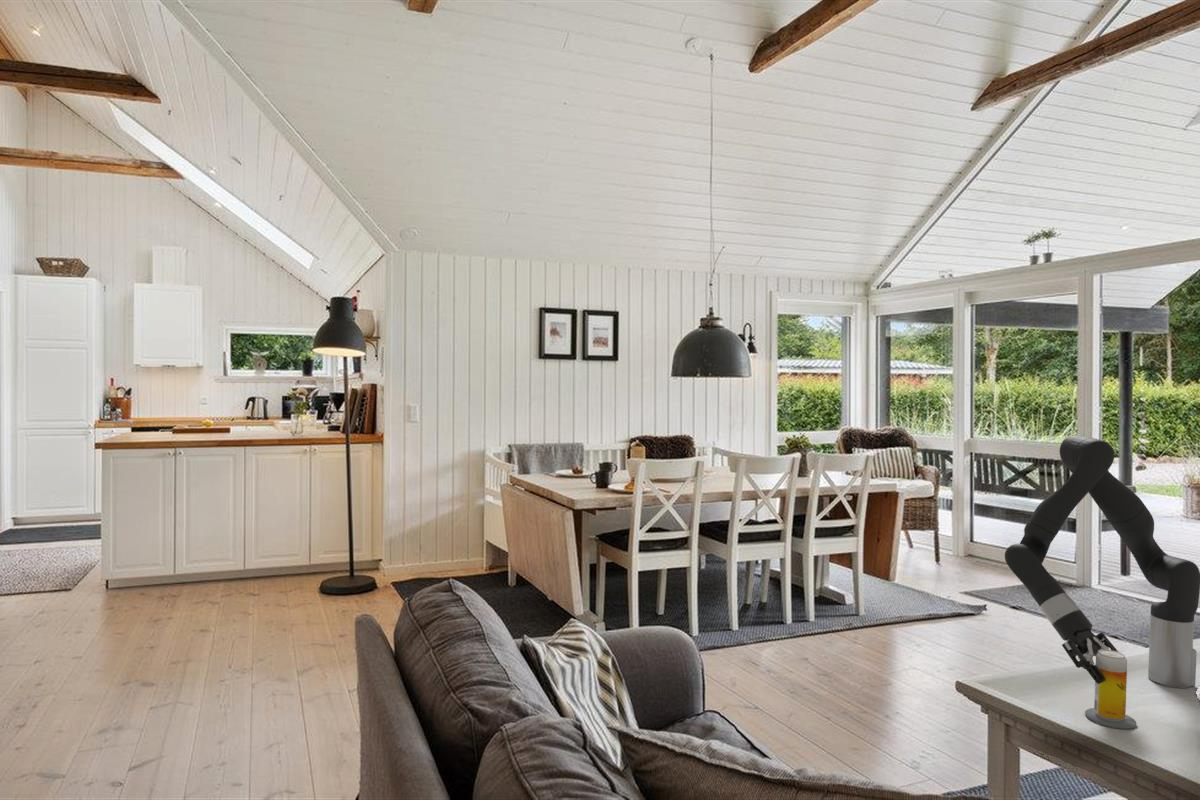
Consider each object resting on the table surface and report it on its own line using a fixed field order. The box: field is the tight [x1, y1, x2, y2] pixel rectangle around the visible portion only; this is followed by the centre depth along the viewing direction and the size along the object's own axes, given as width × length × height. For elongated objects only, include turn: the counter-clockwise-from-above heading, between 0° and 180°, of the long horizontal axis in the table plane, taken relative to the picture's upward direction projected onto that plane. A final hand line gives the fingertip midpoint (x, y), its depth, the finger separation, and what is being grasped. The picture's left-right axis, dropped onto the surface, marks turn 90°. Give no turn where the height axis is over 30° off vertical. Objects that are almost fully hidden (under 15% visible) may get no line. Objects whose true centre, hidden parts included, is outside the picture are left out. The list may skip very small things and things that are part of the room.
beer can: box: [1093, 649, 1128, 722], centre depth 178 cm, size 6×6×15 cm
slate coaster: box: [1084, 707, 1137, 731], centre depth 178 cm, size 10×10×1 cm
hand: (1112, 679), depth 177 cm, fingers open, 8 cm apart
